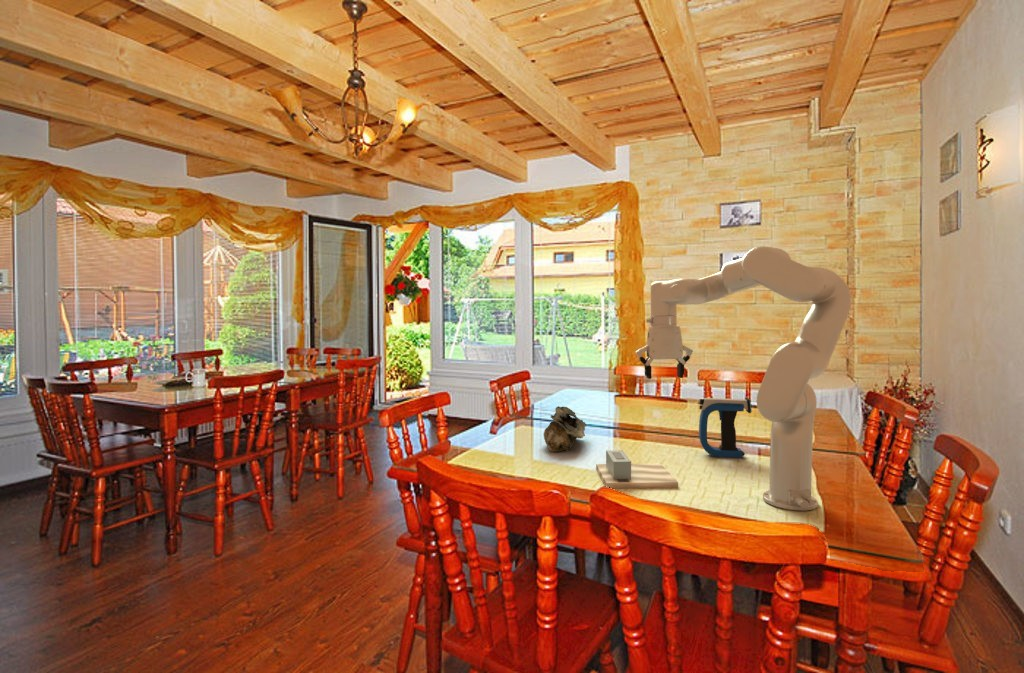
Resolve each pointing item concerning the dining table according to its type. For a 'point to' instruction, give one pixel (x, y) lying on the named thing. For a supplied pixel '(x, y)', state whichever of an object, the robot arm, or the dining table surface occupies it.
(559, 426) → the hollow geode rock
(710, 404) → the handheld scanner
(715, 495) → the dining table surface
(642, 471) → the subfloor panel
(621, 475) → the block
